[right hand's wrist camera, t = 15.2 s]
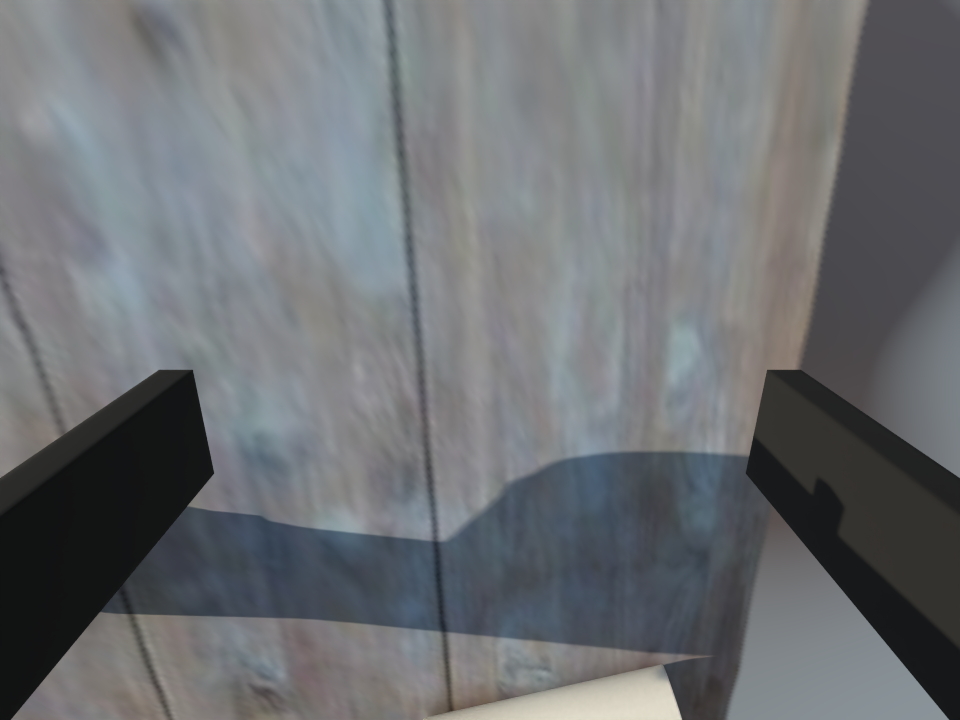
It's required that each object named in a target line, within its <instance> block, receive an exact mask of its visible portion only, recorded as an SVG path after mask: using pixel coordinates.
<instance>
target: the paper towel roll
mask: <svg viewBox="0 0 960 720" xmlns="http://www.w3.org/2000/svg"><path fill="white" fill-rule="evenodd" d="M423 720H682V717H681V714H680V711H679V708H678V705H677V702H676V699H675V696H674V693H673V690H672V687H671V684H670V681H669V679H668V676H667V673H666V671H665V668H664V666H663V665H662V664H661V665H656V666H652V667H647V668H643V669H638V670H634V671H630V672H625V673H621V674H616V675H612V676H607V677H603V678H598V679H594V680H590V681H585V682H581V683H576V684H572V685H567V686H563V687H558V688H554V689H550V690H545V691H541V692H536V693H532V694H527V695H523V696H518V697H514V698H510V699H505V700H501V701H496V702H492V703H487V704H483V705H478V706H474V707H470V708H465V709H461V710H456V711H452V712H447V713H443V714H438V715H434V716H429V717H426V718H424V719H423Z"/></svg>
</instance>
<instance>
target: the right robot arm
mask: <svg viewBox="0 0 960 720" xmlns="http://www.w3.org/2000/svg"><path fill="white" fill-rule="evenodd" d="M213 474H214V470H213V465H212V461H211V456H210V451H209V446H208V441H207V436H206V432H205V427H204V422H203V417H202V412H201V407H200V403H199V398H198V393H197V388H196V383H195V378H194V374H193V370H158V371H157V372H155V373H154V374H153V375H151V376H150V377H148V378H147V379H145V380H144V381H142V382H141V383H139V384H138V385H136V386H135V387H133V388H132V389H130V390H129V391H128V392H126V393H125V394H123V395H122V396H120V397H119V398H117V399H116V400H114V401H113V402H111V403H110V404H108V405H107V406H106V407H104V408H103V409H101V410H100V411H98V412H97V413H95V414H94V415H92V416H91V417H89V418H88V419H86V420H85V421H83V422H82V423H81V424H79V425H78V426H76V427H75V428H73V429H72V430H70V431H69V432H67V433H66V434H64V435H63V436H61V437H60V438H59V439H57V440H56V441H54V442H53V443H51V444H50V445H48V446H47V447H45V448H44V449H42V450H41V451H39V452H38V453H37V454H35V455H34V456H32V457H31V458H29V459H28V460H26V461H25V462H23V463H22V464H20V465H19V466H17V467H16V468H14V469H13V470H12V471H10V472H9V473H7V474H6V475H4V476H3V477H1V478H0V720H11V719H12V718H13V716H14V715H15V714H16V713H17V711H18V710H19V709H20V708H21V707H22V705H23V704H24V703H25V702H26V701H27V699H28V698H29V697H30V696H31V695H32V693H33V692H34V691H35V690H36V688H37V687H38V686H39V685H40V684H41V682H42V681H43V680H44V679H45V678H46V676H47V675H48V674H49V673H50V672H51V670H52V669H53V668H54V667H55V665H56V664H57V663H58V662H59V661H60V659H61V658H62V657H63V656H64V655H65V653H66V652H67V651H68V650H69V649H70V647H71V646H72V645H73V644H74V642H75V641H76V640H77V639H78V638H79V636H80V635H81V634H82V633H83V632H84V630H85V629H86V628H87V627H88V626H89V624H90V623H91V622H92V621H93V619H94V618H95V617H96V616H97V615H98V613H99V612H100V611H101V610H102V609H103V607H104V606H105V605H106V604H107V603H108V601H109V600H110V599H111V598H112V596H113V595H114V594H115V593H116V592H117V590H118V589H119V588H120V587H121V586H122V584H123V583H124V582H125V581H126V580H127V578H128V577H129V576H130V575H131V573H132V572H133V571H134V570H135V569H136V567H137V566H138V565H139V564H140V563H141V561H142V560H143V559H144V558H145V556H146V555H147V554H148V553H149V552H150V550H151V549H152V548H153V547H154V546H155V544H156V543H157V542H158V541H159V540H160V538H161V537H162V536H163V535H164V533H165V532H166V531H167V530H168V529H169V527H170V526H171V525H172V524H173V523H174V521H175V520H176V519H177V518H178V517H179V515H180V514H181V513H182V512H183V510H184V509H185V508H186V507H187V506H188V504H189V503H190V502H191V501H192V500H193V498H194V497H195V496H196V495H197V494H198V492H199V491H200V490H201V489H202V487H203V486H204V485H205V484H206V483H207V481H208V480H209V479H210V478H211V477H212V475H213ZM746 474H747V475H748V477H749V478H750V479H751V480H752V481H753V483H754V484H755V485H756V486H757V487H758V489H759V490H760V491H761V492H762V494H763V495H764V496H765V497H766V498H767V500H768V501H769V502H770V503H771V504H772V506H773V507H774V508H775V509H776V510H777V512H778V513H779V514H780V515H781V517H782V518H783V519H784V520H785V521H786V523H787V524H788V525H789V526H790V527H791V529H792V530H793V531H794V532H795V533H796V535H797V536H798V537H799V538H800V540H801V541H802V542H803V543H804V544H805V546H806V547H807V548H808V549H809V550H810V552H811V553H812V554H813V555H814V556H815V558H816V559H817V560H818V561H819V563H820V564H821V565H822V566H823V567H824V569H825V570H826V571H827V572H828V573H829V575H830V576H831V577H832V578H833V580H834V581H835V582H836V583H837V584H838V586H839V587H840V588H841V589H842V590H843V592H844V593H845V594H846V595H847V596H848V598H849V599H850V600H851V601H852V602H853V604H854V605H855V606H856V607H857V609H858V610H859V611H860V612H861V613H862V615H863V616H864V617H865V618H866V619H867V621H868V622H869V623H870V624H871V626H872V627H873V628H874V629H875V630H876V631H877V633H878V634H879V635H880V636H881V638H882V639H883V640H884V641H885V642H886V644H887V645H888V646H889V647H890V648H891V650H892V651H893V652H894V653H895V655H896V656H897V657H898V658H899V659H900V661H901V662H902V663H903V664H904V665H905V667H906V668H907V669H908V670H909V672H910V673H911V674H912V675H913V676H914V678H915V679H916V680H917V681H918V682H919V684H920V685H921V686H922V687H923V688H924V690H925V691H926V692H927V693H928V695H929V696H930V697H931V698H932V699H933V701H934V702H935V703H936V704H937V705H938V707H939V708H940V709H941V710H942V711H943V713H944V714H945V715H946V716H947V718H948V719H949V720H960V478H959V477H957V476H956V475H954V474H953V473H951V472H950V471H948V470H947V469H946V468H944V467H943V466H941V465H940V464H938V463H937V462H935V461H934V460H932V459H931V458H929V457H928V456H926V455H925V454H923V453H922V452H921V451H919V450H918V449H916V448H915V447H913V446H912V445H910V444H909V443H907V442H906V441H904V440H903V439H901V438H900V437H898V436H897V435H896V434H894V433H893V432H891V431H890V430H888V429H887V428H885V427H884V426H882V425H881V424H879V423H878V422H877V421H875V420H874V419H872V418H871V417H869V416H868V415H866V414H865V413H863V412H862V411H860V410H859V409H857V408H856V407H854V406H853V405H852V404H850V403H849V402H847V401H846V400H844V399H843V398H841V397H840V396H838V395H837V394H835V393H834V392H832V391H831V390H830V389H828V388H827V387H825V386H824V385H822V384H821V383H819V382H818V381H816V380H815V379H813V378H812V377H810V376H809V375H807V374H806V373H805V372H803V371H802V370H767V374H766V378H765V383H764V388H763V393H762V398H761V403H760V407H759V412H758V417H757V422H756V427H755V432H754V436H753V441H752V446H751V451H750V456H749V461H748V465H747V470H746Z"/></svg>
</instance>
